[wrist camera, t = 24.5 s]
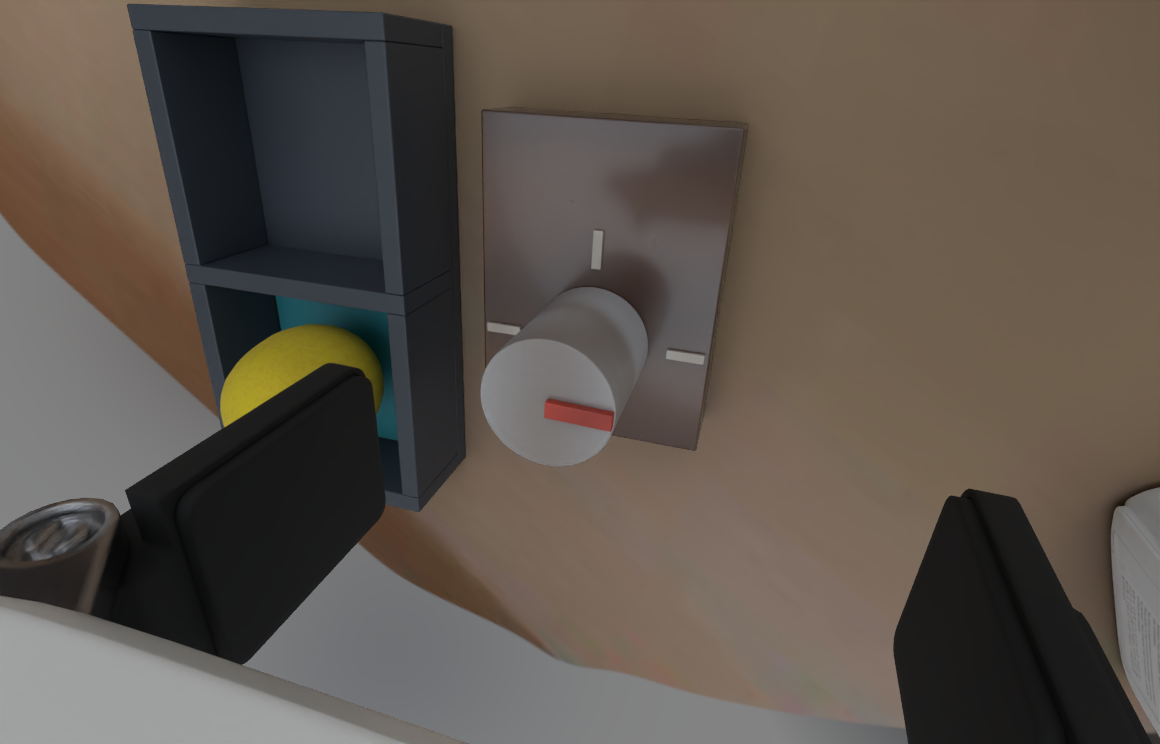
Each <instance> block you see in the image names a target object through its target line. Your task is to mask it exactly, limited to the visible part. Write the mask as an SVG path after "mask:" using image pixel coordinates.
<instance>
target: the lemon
mask: <svg viewBox="0 0 1160 744" xmlns="http://www.w3.org/2000/svg"><path fill="white" fill-rule="evenodd" d="M327 363H336V364H341V365H346V366H351V367H356V368H359V369H361V370H362V371H363V372H364V374H365V376H366V378H368V379H369V380H370V381H371V383H372V387H373V395H374V403H375V412H376V414H377V413H378V411H379V408H380V405H381V402H382V398H383V394H384V376H383V372H382V368H381V364H380V362H379V360H378V358H377V356H376V354H375V353H374V352H373V350H372V349H371V348H370V346H369V345H368V344H367V343H366V342H364V341H363V340H362V339H361V338H360V337H358V336H357V335H355V334H353V333H351V332H350V331H348V330H346V329H343V328H340V327H336V326H333V325H324V324H306V325H301V326H297V327H293V328H289V329H286V330H283V331H280V332H278V333H276V334H273V335H272V336H270V337H268V338H267V339H265V340H264V341H262V342H261V343H259V344H258V345H256V346H255V347H254V348H252V349H251V350H250V351H249V352H247V353H246V354H245V355H244V356H243V357H242V358H241V359H240V360H239V362H238V363H237V364H236V365H235V367H234V368H233V369H232V371H231V372H230V374H229V375H228V377H227V378H226V380H225V383H224V386H223V389H222V393H221V399H220V411H221V417H222V421H223V425H224V427H226V426H228V425H229V424H231V423H232V422H234V421H235V420H237V419H239V418H240V417H242V416H243V415H245V414H246V413H248V412H250V411H251V410H253V409H254V408H256V407H258V406H259V405H261V404H262V403H264V402H265V401H267V400H269V399H270V398H272V397H273V396H275V395H277V394H278V393H280V392H281V391H283V390H284V389H286V388H288V387H289V386H291V385H292V384H294V383H295V382H297V381H299V380H300V379H302V378H303V377H305V376H307V375H308V374H310V373H311V372H313V371H314V370H316V369H318V368H319V367H321V366H322V365H324V364H327Z"/></svg>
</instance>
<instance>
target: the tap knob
mask: <svg viewBox="0 0 1160 744" xmlns="http://www.w3.org/2000/svg"><path fill="white" fill-rule="evenodd" d="M647 354H648V337H647V333H646V329H645V326H644V324H643V322H642V320H641V318H640V316H639V315H638V313H637V312H636V311H635V309H634V308H633V307H632V306H631V305H630V304H629V303H628V302H627V301H625V300H624V299H623V298H621V297H620V296H618V295H616V294H614V293H612V292H610V291H607V290H605V289H600V288H595V287H579V288H574V289H571V290H568V291H566V292H563V293H561V294H560V295H558V296H557V297H555V298H554V299H553V300H552V301H551V302H550V303H549V304H548V305H547V306H546V307H545V308H544V309H543V310H542V311H540V312H539V313H538V314H537V315H536V316H535V317H534V318H533V319H532V320H531V321H530V322H529V323H528V324H527V325H526V326H525V327H524V328H523V329H522V330H521V331H520V332H518V333H517V334H516V335H515V336H514V337H513V338H512V339H511V340H510V341H509V342H508V343H507V344H506V345H505V346H504V347H503V348H502V349H501V350H500V351H499V352H498V353H496V354H495V355H494V357H493V358H492V359H491V360H490V362H489V363H488V365H487V367H486V369H485V371H484V374H483V377H482V382H481V403H482V408H483V411H484V414H485V417H486V419H487V421H488V423H489V425H490V427H491V428H492V430H493V431H494V433H495V434H496V435H497V437H498V438H499V439H500V440H501V441H502V442H503V443H504V444H505V445H506V446H507V447H508V448H510V449H511V450H512V451H514V452H515V453H517V454H518V455H520V456H522V457H523V458H525V459H527V460H530V461H532V462H535V463H539V464H542V465H547V466H559V467H560V466H570V465H575V464H578V463H581V462H584V461H586V460H588V459H590V458H592V457H593V456H594V455H596V454H597V453H598V452H599V451H600V450H601V449H603V447H604V446H605V445H606V443H607V442H608V440H609V439H610V437H611V435H612V433H613V431H614V428H615V426H616V424H617V422H618V420H619V418H620V416H621V414H622V412H623V409H624V407H625V405H626V403H627V401H628V399H629V397H630V395H631V392H632V390H633V388H634V386H635V384H636V382H637V380H638V378H639V376H640V373H641V371H642V369H643V367H644V365H645V362H646V359H647Z"/></svg>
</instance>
